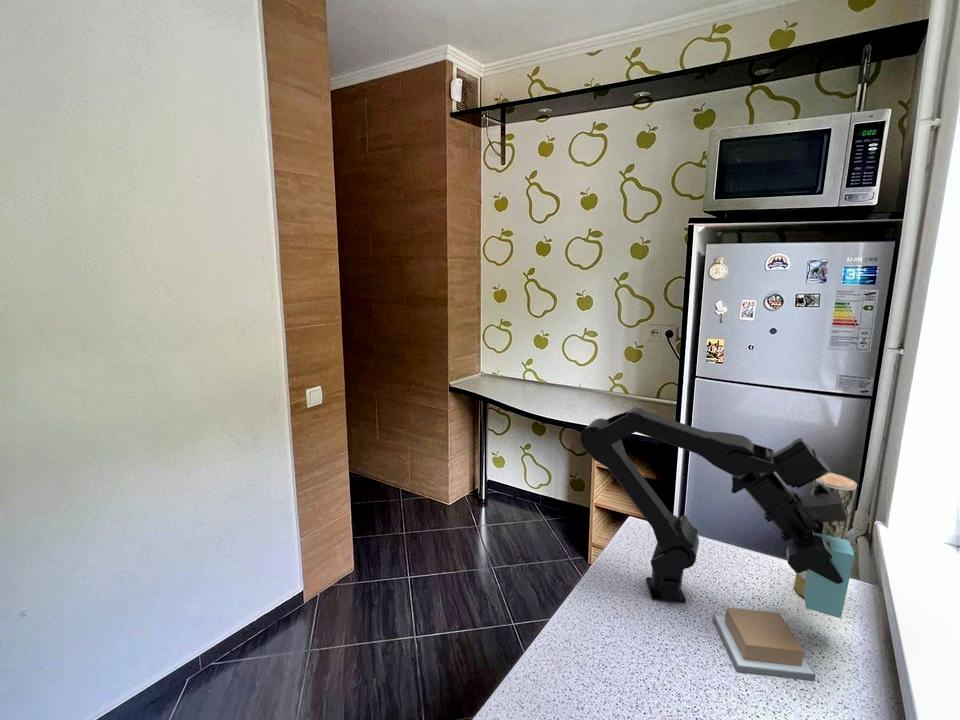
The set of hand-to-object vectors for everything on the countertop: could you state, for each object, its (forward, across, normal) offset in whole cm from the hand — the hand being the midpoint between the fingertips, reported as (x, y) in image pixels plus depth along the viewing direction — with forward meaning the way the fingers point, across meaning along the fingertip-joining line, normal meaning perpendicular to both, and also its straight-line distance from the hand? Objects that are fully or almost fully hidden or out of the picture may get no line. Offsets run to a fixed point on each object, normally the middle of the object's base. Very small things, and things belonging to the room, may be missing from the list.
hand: (837, 573), depth 87 cm
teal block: (+4, 0, +6) cm, 7 cm away
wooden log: (+10, +14, +10) cm, 20 cm away
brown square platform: (+2, -7, +17) cm, 19 cm away
